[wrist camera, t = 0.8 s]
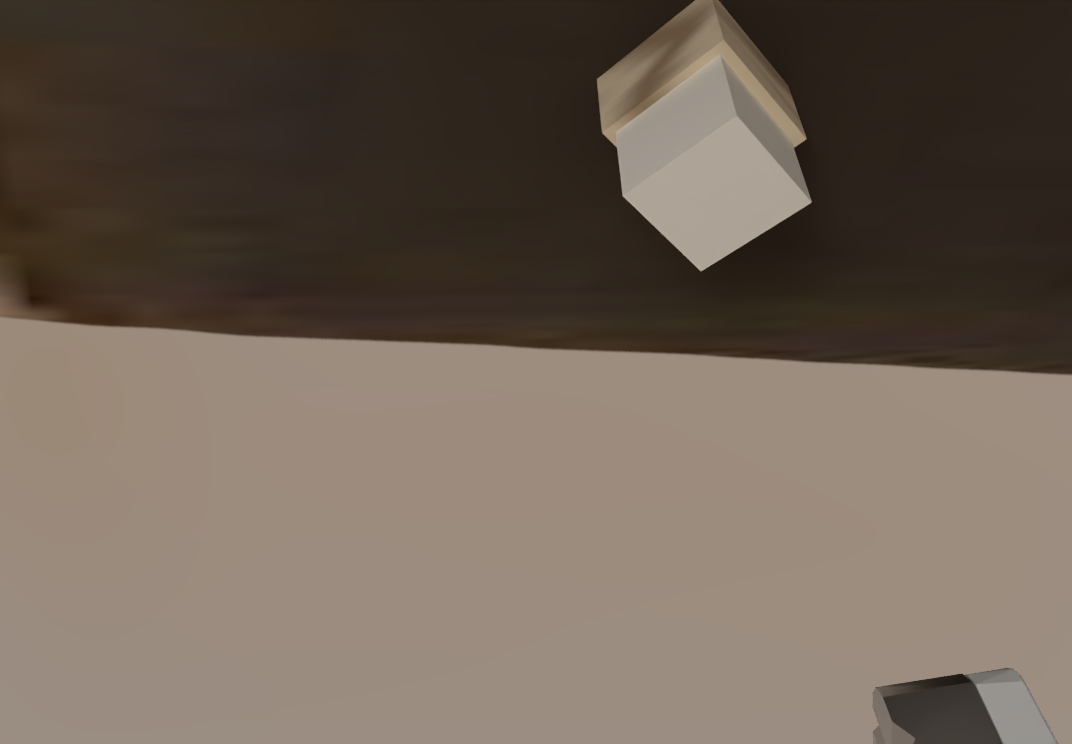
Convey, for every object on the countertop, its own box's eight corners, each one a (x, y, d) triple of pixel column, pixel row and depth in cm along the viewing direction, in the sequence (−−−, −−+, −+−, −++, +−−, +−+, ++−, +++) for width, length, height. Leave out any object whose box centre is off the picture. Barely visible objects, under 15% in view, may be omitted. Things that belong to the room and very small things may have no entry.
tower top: (720, 54, 43) (736, 115, 39) (790, 139, 46) (811, 202, 43) (615, 132, 46) (622, 195, 42) (688, 207, 49) (701, 271, 46)
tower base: (709, -13, 46) (723, 39, 42) (787, 84, 50) (806, 138, 46) (596, 78, 49) (602, 132, 46) (678, 162, 53) (688, 218, 50)
